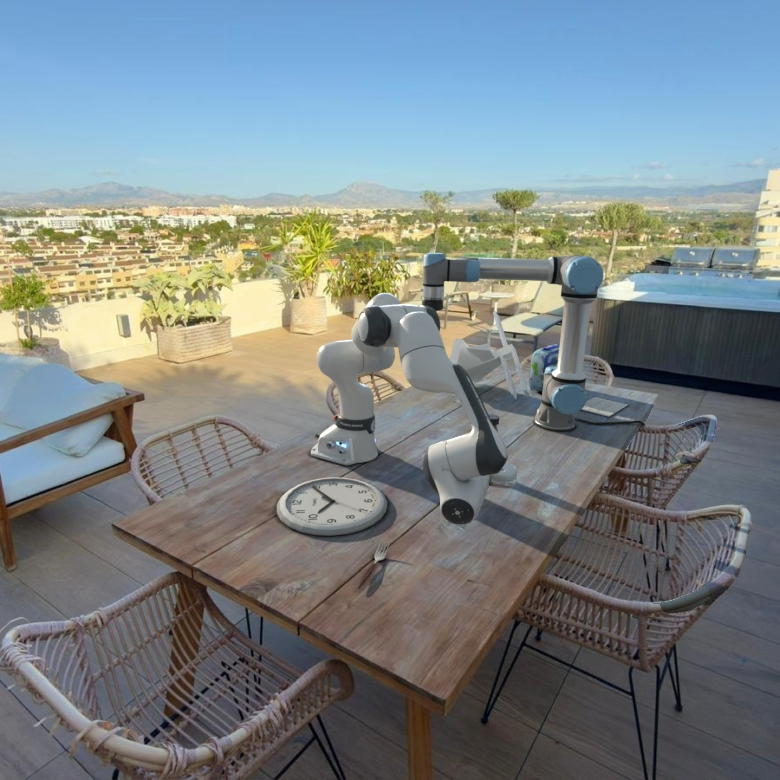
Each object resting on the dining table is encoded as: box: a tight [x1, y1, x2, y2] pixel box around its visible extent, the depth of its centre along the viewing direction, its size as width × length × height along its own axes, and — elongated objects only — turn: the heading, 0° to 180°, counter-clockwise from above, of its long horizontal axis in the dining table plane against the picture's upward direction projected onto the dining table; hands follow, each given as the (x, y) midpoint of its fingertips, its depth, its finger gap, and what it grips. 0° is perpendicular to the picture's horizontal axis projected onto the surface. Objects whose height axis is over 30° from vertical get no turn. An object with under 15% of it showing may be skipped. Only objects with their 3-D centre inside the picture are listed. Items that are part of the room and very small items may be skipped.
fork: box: [357, 541, 391, 589], centre depth 116 cm, size 3×16×2 cm, turn 160°
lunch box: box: [528, 344, 560, 393], centre depth 247 cm, size 26×11×21 cm, turn 134°
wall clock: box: [276, 476, 388, 537], centre depth 142 cm, size 30×2×30 cm
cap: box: [488, 414, 500, 426], centre depth 156 cm, size 4×4×2 cm
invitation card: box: [580, 396, 629, 418], centre depth 226 cm, size 21×1×15 cm
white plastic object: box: [449, 310, 531, 400], centre depth 245 cm, size 37×45×31 cm
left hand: (480, 458), depth 138 cm, fingers open, 8 cm apart
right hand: (430, 357), depth 190 cm, fingers open, 13 cm apart
